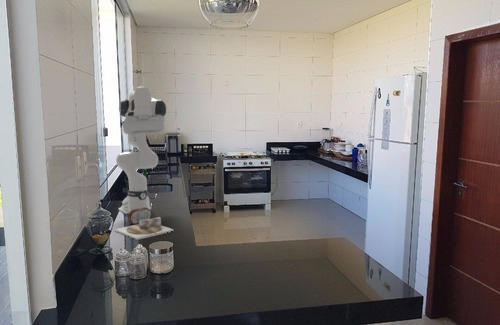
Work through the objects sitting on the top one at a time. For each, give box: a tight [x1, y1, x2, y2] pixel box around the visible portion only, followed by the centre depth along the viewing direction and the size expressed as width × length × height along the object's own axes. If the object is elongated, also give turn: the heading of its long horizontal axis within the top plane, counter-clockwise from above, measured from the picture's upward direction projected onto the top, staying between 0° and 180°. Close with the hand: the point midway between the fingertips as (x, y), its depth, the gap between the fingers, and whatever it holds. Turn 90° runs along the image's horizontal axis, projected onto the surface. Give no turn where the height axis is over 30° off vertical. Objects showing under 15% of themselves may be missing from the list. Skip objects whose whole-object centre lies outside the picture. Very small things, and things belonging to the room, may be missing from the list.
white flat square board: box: [114, 224, 174, 241], centre depth 209 cm, size 22×22×1 cm
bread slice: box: [127, 207, 153, 225], centre depth 226 cm, size 15×3×8 cm, turn 141°
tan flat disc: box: [127, 216, 162, 234], centre depth 209 cm, size 19×18×5 cm
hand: (144, 140), depth 197 cm, fingers open, 8 cm apart
